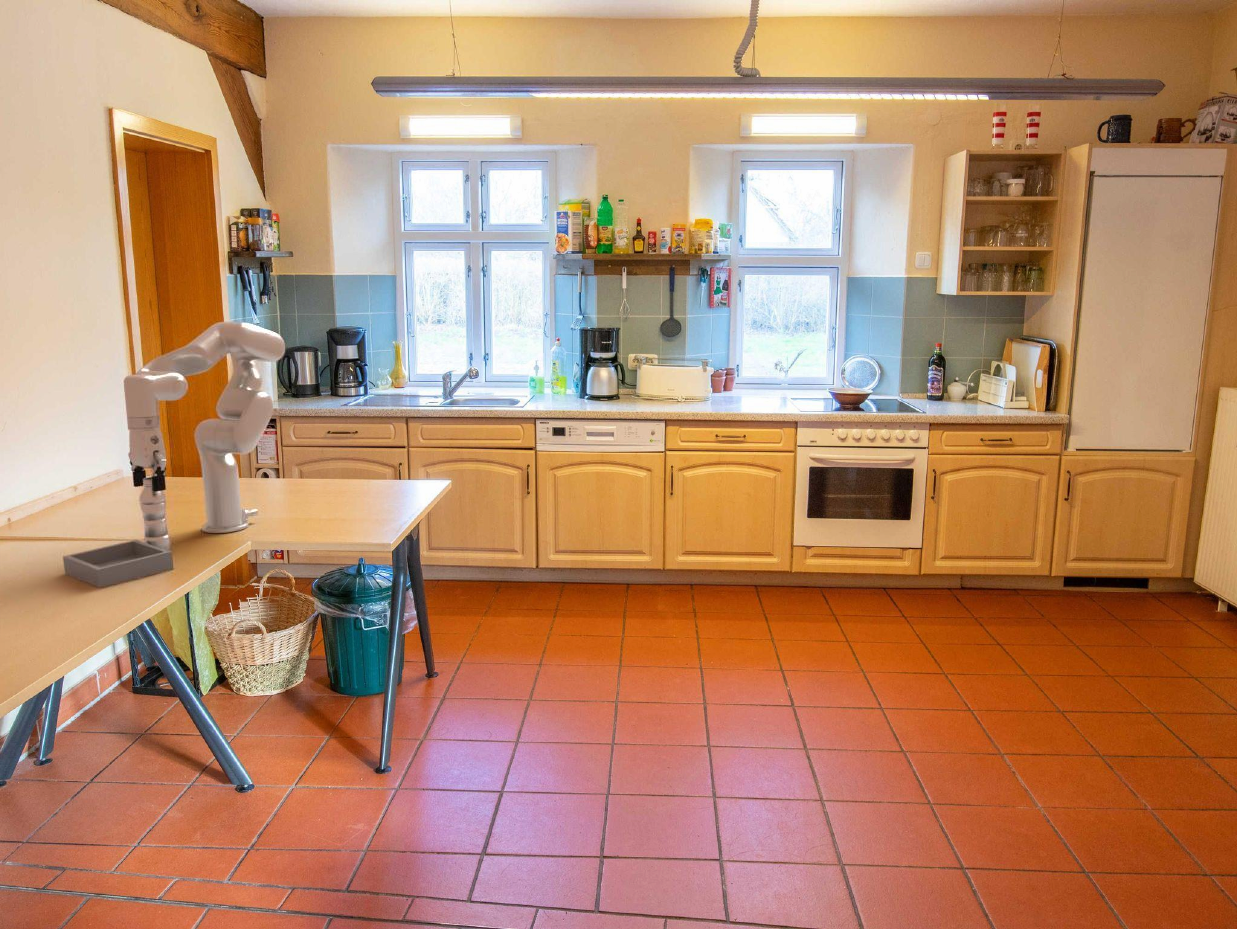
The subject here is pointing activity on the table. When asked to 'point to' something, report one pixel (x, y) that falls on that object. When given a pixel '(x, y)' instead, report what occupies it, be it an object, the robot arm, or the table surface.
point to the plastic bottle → (154, 516)
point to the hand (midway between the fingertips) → (149, 488)
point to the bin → (117, 563)
